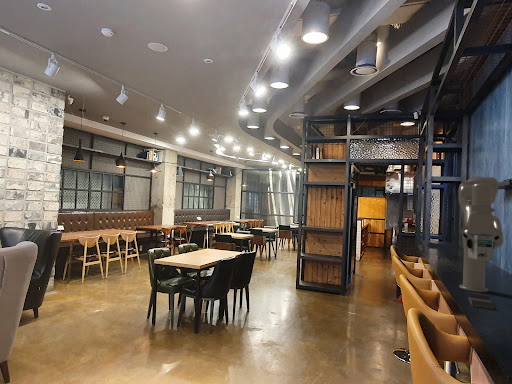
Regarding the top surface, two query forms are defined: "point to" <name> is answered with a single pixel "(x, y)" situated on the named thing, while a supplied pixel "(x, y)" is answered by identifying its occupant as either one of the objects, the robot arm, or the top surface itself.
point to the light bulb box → (481, 248)
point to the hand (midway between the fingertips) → (480, 249)
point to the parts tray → (480, 301)
